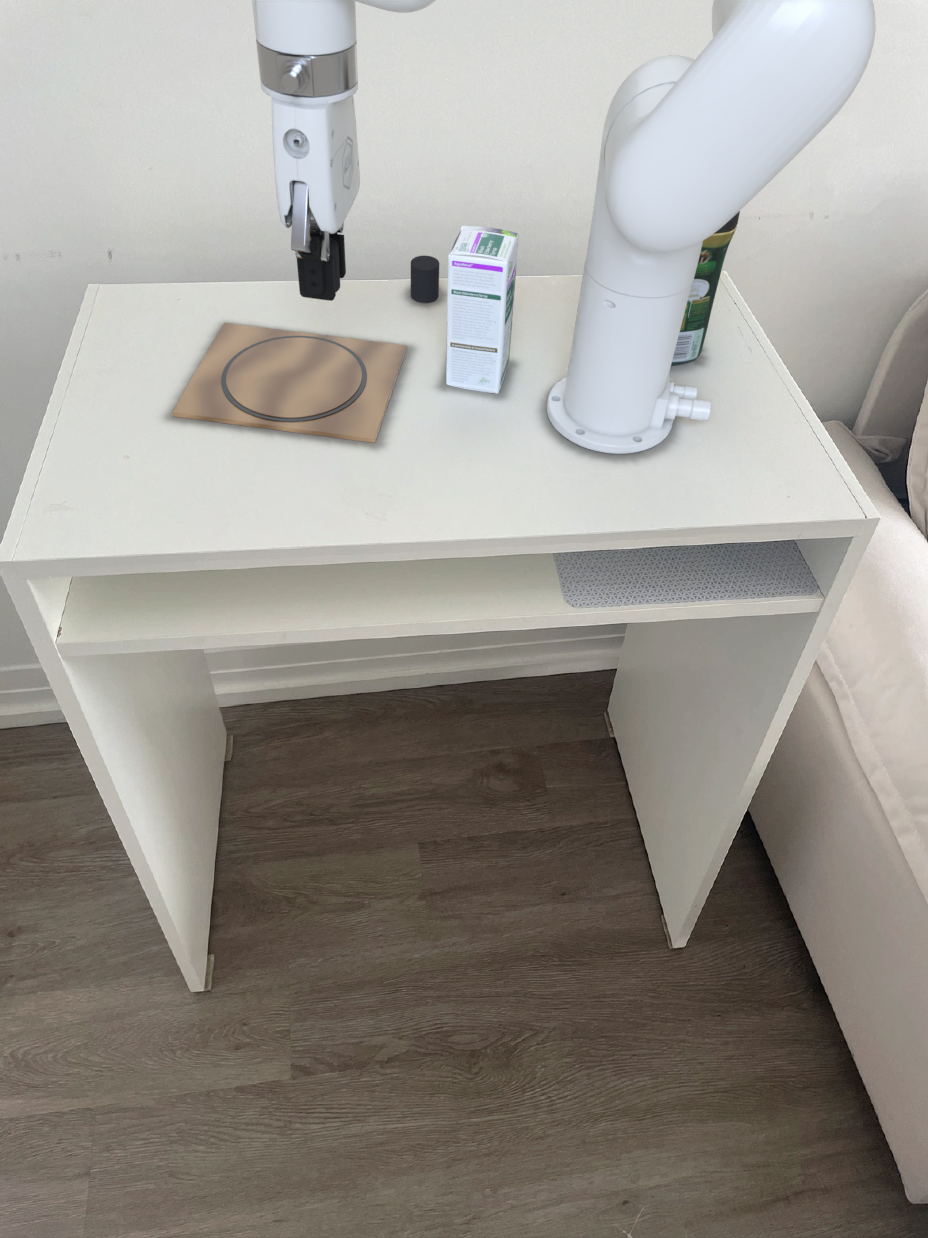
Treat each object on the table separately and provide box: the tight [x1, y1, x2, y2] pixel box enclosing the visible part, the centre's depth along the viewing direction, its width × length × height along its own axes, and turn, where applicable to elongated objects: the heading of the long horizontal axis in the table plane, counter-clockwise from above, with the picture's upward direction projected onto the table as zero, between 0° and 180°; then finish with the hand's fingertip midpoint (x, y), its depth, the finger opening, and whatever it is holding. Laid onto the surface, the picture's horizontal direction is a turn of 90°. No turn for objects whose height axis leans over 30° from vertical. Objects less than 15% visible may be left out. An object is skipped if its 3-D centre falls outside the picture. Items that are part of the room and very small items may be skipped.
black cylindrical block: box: [312, 236, 341, 293], centre depth 82 cm, size 3×3×4 cm
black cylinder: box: [410, 255, 440, 304], centre depth 102 cm, size 3×3×4 cm
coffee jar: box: [671, 210, 741, 366], centre depth 93 cm, size 10×8×19 cm
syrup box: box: [445, 224, 519, 394], centre depth 89 cm, size 6×6×14 cm
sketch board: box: [171, 322, 407, 444], centre depth 92 cm, size 20×16×1 cm
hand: (323, 284), depth 84 cm, fingers closed on black cylindrical block, 3 cm apart
